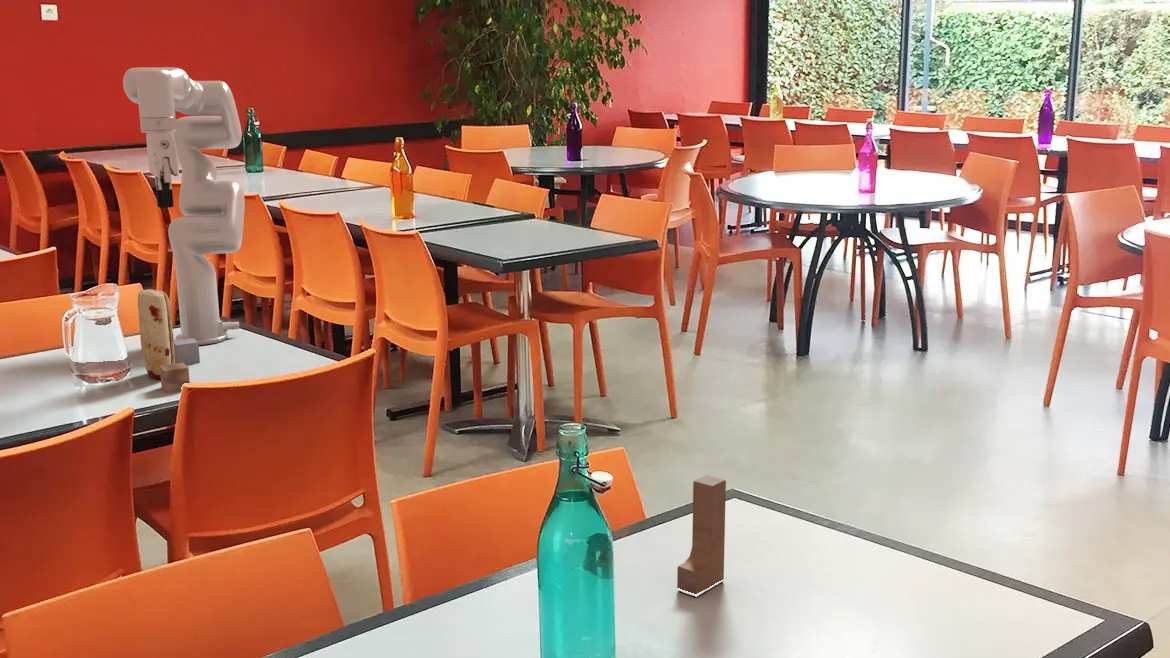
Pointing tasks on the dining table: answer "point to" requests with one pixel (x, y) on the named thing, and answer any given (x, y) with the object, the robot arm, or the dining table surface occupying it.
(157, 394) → the dining table surface
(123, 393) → the dining table surface
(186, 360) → the slate cube
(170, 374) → the walnut cube
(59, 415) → the dining table surface
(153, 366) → the food model
